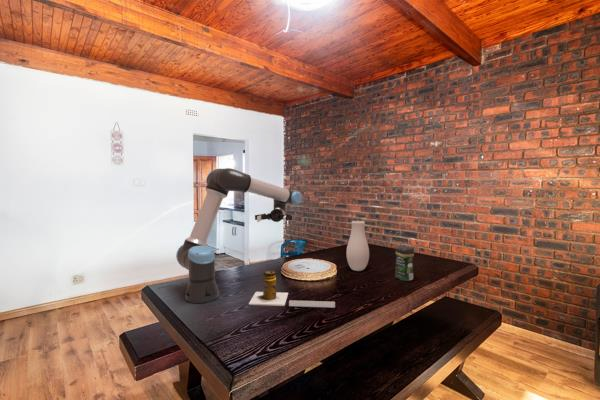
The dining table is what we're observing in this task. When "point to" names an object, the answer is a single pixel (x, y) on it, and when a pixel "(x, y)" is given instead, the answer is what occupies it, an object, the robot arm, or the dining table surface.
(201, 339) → the dining table surface
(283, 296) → the mat
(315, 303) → the bar
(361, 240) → the vase
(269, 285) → the condiment
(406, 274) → the coffee jar
